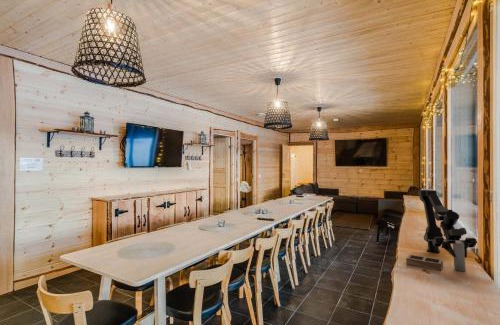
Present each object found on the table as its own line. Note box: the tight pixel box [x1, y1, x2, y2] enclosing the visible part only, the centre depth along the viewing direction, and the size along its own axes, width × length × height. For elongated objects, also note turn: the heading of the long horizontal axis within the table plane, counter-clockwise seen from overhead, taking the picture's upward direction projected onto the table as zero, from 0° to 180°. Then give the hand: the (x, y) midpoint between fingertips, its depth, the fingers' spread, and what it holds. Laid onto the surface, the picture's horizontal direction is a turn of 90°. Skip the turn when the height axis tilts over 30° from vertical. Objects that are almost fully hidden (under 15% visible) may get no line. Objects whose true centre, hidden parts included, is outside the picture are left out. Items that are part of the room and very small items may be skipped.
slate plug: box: [452, 239, 467, 272], centre depth 138 cm, size 5×5×15 cm
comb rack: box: [405, 254, 444, 272], centre depth 146 cm, size 8×16×4 cm, turn 49°
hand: (460, 257), depth 137 cm, fingers closed on slate plug, 5 cm apart
